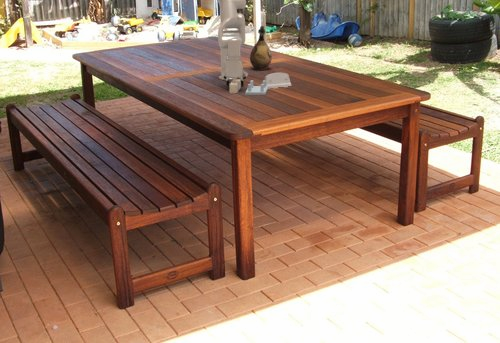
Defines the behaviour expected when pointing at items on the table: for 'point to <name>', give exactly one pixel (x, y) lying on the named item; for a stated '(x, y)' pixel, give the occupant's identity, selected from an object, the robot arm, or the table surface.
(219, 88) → the table surface
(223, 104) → the table surface
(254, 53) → the ceramic jug
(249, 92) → the rack
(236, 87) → the clay bar
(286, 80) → the white router
